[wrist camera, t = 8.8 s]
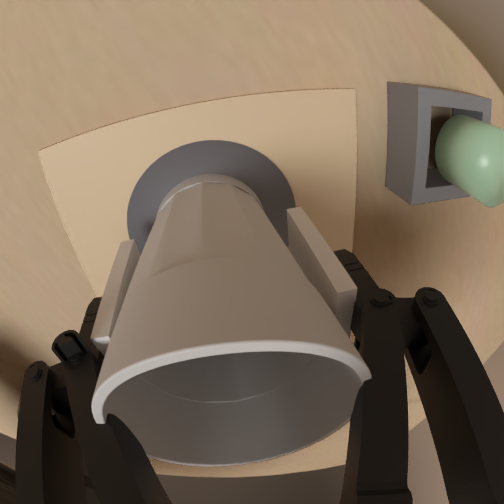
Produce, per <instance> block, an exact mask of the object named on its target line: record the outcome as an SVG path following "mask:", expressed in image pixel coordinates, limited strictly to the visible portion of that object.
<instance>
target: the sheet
mask: <svg viewBox="0 0 504 504" xmlns="http://www.w3.org/2000/svg"><path fill="white" fill-rule="evenodd" d="M38 155H39V158H40V161H41V165H42V168H43V171H44V174H45V177H46V180H47V183H48V186H49V189H50V192H51V194H52V197H53V200H54V202H55V205H56V208H57V210H58V213H59V215H60V218H61V220H62V223H63V225H64V228H65V230H66V233H67V235H68V237H69V240H70V242H71V244H72V246H73V249H74V251H75V253H76V255H77V257H78V259H79V262H80V264H81V266H82V268H83V270H84V272H85V274H86V276H87V278H88V280H89V282H90V284H91V286H92V288H93V290H94V292H95V294H96V295H97V297H102V296H103V293H104V290H105V286H106V283H107V280H108V277H109V274H110V271H111V268H112V265H113V263H114V260H115V257H116V254H117V251H118V249H119V246H120V243H121V242H123V241H127V240H132V239H134V240H135V243H136V245H137V248H138V251H139V254H140V256H141V254H142V251H143V249H144V246H145V244H146V241H147V239H148V236H149V234H150V232H151V229H152V227H153V225H154V222H155V220H156V217H157V213H158V210H159V207H160V205H161V203H162V201H163V199H164V198H165V196H166V195H167V194H168V193H169V191H170V190H171V189H173V188H174V187H175V186H176V185H178V184H179V183H181V182H182V181H184V180H186V179H188V178H191V177H194V176H197V175H202V174H222V175H227V176H230V177H233V178H235V179H237V180H239V181H241V182H243V183H244V184H246V185H247V186H248V187H249V188H250V189H252V191H253V192H254V193H255V194H256V195H257V197H258V199H259V200H260V202H261V204H262V207H263V209H264V211H265V213H266V216H267V217H268V219H269V220H270V222H271V223H272V225H273V227H274V228H275V230H276V231H277V233H278V234H279V236H280V237H281V239H282V240H283V242H284V243H285V245H286V247H287V248H288V250H289V239H288V223H287V209H290V208H296V207H301V208H302V209H303V210H304V212H305V213H306V215H307V216H308V217H309V219H310V220H311V221H312V223H313V224H314V226H315V227H316V228H317V230H318V231H319V233H320V234H321V235H322V237H323V238H324V240H325V241H326V242H327V244H328V245H329V247H330V248H331V250H332V251H337V250H342V249H346V250H348V251H349V252H351V253H352V248H353V235H354V220H355V202H356V171H357V124H356V95H355V89H310V90H293V91H280V92H269V93H260V94H251V95H243V96H236V97H229V98H222V99H216V100H210V101H205V102H199V103H194V104H189V105H184V106H179V107H175V108H170V109H166V110H161V111H157V112H153V113H149V114H145V115H141V116H138V117H134V118H130V119H127V120H123V121H120V122H117V123H113V124H110V125H107V126H104V127H101V128H98V129H95V130H92V131H89V132H86V133H83V134H80V135H77V136H75V137H72V138H69V139H66V140H64V141H61V142H59V143H56V144H54V145H51V146H49V147H46V148H44V149H42V150H40V151H38Z"/></svg>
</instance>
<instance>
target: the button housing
mask: <svg viewBox="0 0 504 504" xmlns="http://www.w3.org/2000/svg"><path fill="white" fill-rule="evenodd" d="M387 90H388V144H387V168H386V183H385V187H387V188H388V189H390V190H391V191H392V192H394V193H395V194H396V195H398V196H399V197H400V198H402V199H403V200H404V201H406V202H407V203H408V204H409V205H417V204H424V203H430V202H436V201H443V200H449V199H456V198H462V197H469V196H470V195H469V194H467V193H466V192H464V191H463V190H461V189H459V188H458V187H456V186H455V185H453V184H452V183H450V182H448V181H447V180H445V179H444V178H443V177H442V176H441V175H440V173H439V171H438V169H437V168H430V169H427V168H428V158H429V146H430V129H431V106H438V107H448V108H453V113H452V116H454V115H458V114H462V115H466V116H469V117H472V118H475V119H478V120H480V121H483V122H486V123H488V124H490V121H491V101H492V99H489V98H485V97H482V96H478V95H475V94H471V93H467V92H463V91H458V90H452V89H446V88H440V87H433V86H425V85H416V84H407V83H395V82H387Z"/></svg>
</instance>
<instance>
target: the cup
mask: <svg viewBox="0 0 504 504" xmlns="http://www.w3.org/2000/svg"><path fill="white" fill-rule="evenodd" d="M371 378H372V376H371V373H370V370H369V368H368V367H367V365H366V363H365V362H364V360H363V359H362V357H361V356H360V354H359V352H358V351H357V349H356V348H355V346H354V345H353V343H352V342H351V340H350V339H349V337H348V335H347V334H346V332H345V331H344V329H343V328H342V326H341V325H340V323H339V322H338V320H337V319H336V317H335V316H334V314H333V313H332V311H331V310H330V308H329V307H328V305H327V304H326V302H325V301H324V299H323V298H322V296H321V295H320V293H319V292H318V290H317V289H316V288H315V287H314V286H313V285H312V284H311V283H310V282H309V281H308V279H307V278H306V276H305V275H304V273H303V271H302V270H301V268H300V267H299V265H298V264H297V262H296V260H295V259H294V257H293V256H292V254H291V253H290V251H289V250H288V248H287V247H286V245H285V243H284V242H283V240H282V239H281V237H280V236H279V234H278V233H277V231H276V230H275V228H274V227H273V225H272V223H271V222H270V220H269V219H268V217H267V216H266V213H265V211H264V209H263V207H262V204H261V202H260V200H259V199H258V197H257V195H256V194H255V193H254V192H253V191H252V189H250V188H249V187H248V186H247V185H246V184H244V183H243V182H241V181H239V180H237V179H235V178H233V177H230V176H227V175H222V174H202V175H197V176H194V177H191V178H188V179H186V180H184V181H182V182H181V183H179V184H178V185H176V186H175V187H174V188H173V189H171V190H170V191H169V193H168V194H167V195H166V196H165V198H164V199H163V201H162V203H161V205H160V207H159V210H158V213H157V217H156V220H155V222H154V225H153V227H152V229H151V232H150V234H149V236H148V239H147V241H146V244H145V246H144V249H143V251H142V254H141V256H140V259H139V261H138V264H137V266H136V269H135V272H134V274H133V277H132V280H131V282H130V285H129V288H128V290H127V293H126V296H125V299H124V302H123V305H122V307H121V310H120V313H119V316H118V319H117V321H116V324H115V327H114V330H113V333H112V336H111V339H110V342H109V345H108V348H107V351H106V354H105V357H104V361H103V364H102V367H101V371H100V374H99V377H98V381H97V384H96V388H95V391H94V395H93V399H92V406H91V407H92V414H93V417H94V419H95V421H96V423H97V424H105V423H106V419H107V414H108V413H110V414H113V415H115V416H117V417H118V418H119V419H120V420H122V421H123V422H124V424H125V425H126V426H127V427H128V428H129V429H130V430H131V432H132V433H133V434H134V435H135V437H136V438H137V439H138V441H139V442H140V443H141V445H142V446H143V449H144V451H145V453H146V455H147V457H148V458H152V459H155V460H159V461H163V462H168V463H174V464H180V465H189V466H205V467H218V466H234V465H243V464H250V463H256V462H261V461H266V460H270V459H274V458H278V457H281V456H285V455H288V454H291V453H294V452H296V451H299V450H301V449H304V448H306V447H309V446H311V445H313V444H315V443H317V442H319V441H321V440H323V439H325V438H326V437H328V436H330V435H331V434H333V433H334V432H336V431H337V430H339V429H340V428H342V427H343V426H344V425H345V424H347V423H348V422H349V421H350V420H351V415H352V412H353V408H354V404H355V400H356V396H357V393H358V391H359V389H360V387H361V386H362V385H363V382H364V381H366V380H368V379H371Z"/></svg>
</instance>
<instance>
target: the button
mask: <svg viewBox="0 0 504 504" xmlns="http://www.w3.org/2000/svg"><path fill="white" fill-rule="evenodd" d="M435 161H436V166H437V169H438V171H439V173H440V175H441V176H442V177H443V178H444V179H445V180H447V181H448V182H450V183H452V184H453V185H455V186H456V187H458V188H459V189H461V190H463V191H464V192H466V193H467V194H469V195H470V196H472V197H473V198H475V199H476V200H478V201H479V202H481V203H482V204H484V205H485V206H487V207H495V206H497V205H499V204H501V203H502V202H503V201H504V130H503V129H501V128H498V127H496V126H493V125H491V124H488V123H486V122H483V121H480V120H478V119H475V118H472V117H469V116H466V115H462V114H458V115H454V116H452V117H451V118H449V119H448V120H447V121H446V122H445V123H444V125H443V126H442V128H441V130H440V132H439V134H438V137H437V141H436V146H435Z"/></svg>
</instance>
